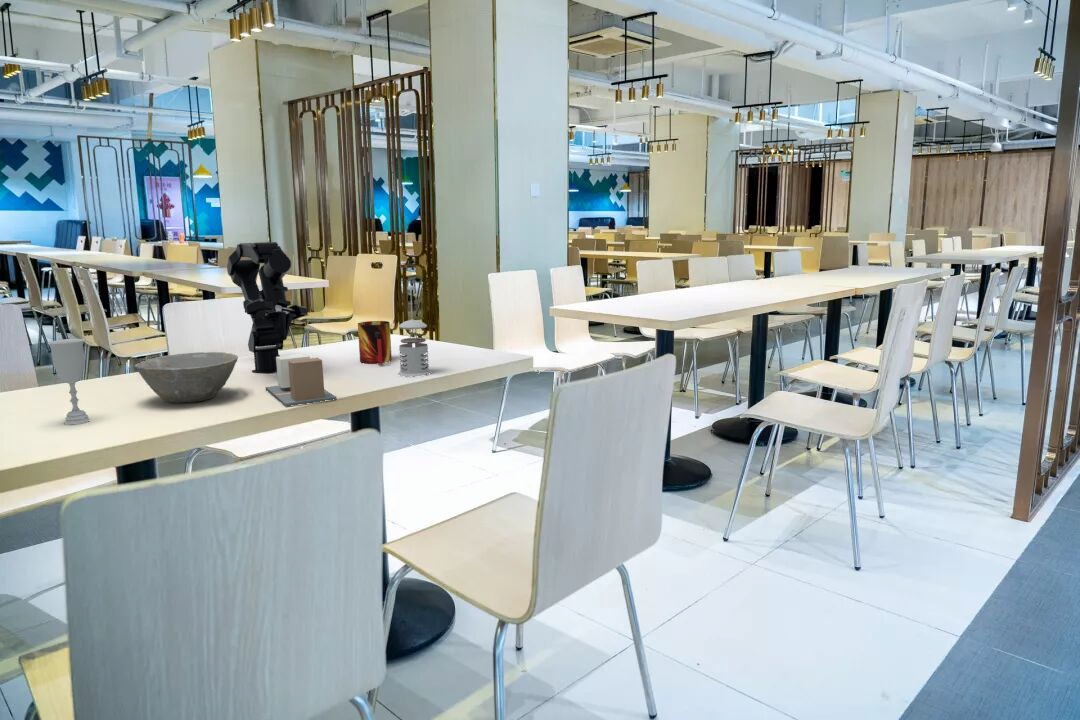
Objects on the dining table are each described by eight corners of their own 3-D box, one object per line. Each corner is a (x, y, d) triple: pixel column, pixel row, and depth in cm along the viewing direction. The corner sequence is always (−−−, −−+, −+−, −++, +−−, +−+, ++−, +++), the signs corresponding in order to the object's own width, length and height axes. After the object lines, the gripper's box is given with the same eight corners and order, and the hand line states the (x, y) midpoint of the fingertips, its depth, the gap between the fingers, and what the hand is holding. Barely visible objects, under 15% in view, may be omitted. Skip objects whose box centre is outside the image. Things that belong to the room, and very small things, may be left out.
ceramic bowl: (143, 395, 189) (138, 356, 188) (240, 386, 198) (236, 349, 196) (134, 415, 169) (129, 372, 168) (242, 404, 178) (239, 363, 176)
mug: (380, 367, 221) (377, 327, 219) (353, 361, 231) (351, 323, 228) (406, 362, 228) (404, 323, 226) (379, 357, 238) (377, 320, 235)
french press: (396, 377, 205) (391, 287, 201) (397, 369, 217) (393, 284, 212) (432, 376, 207) (428, 286, 202) (431, 368, 218) (428, 282, 213)
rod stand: (265, 390, 193) (262, 352, 191) (312, 384, 199) (309, 347, 197) (285, 407, 174) (282, 365, 172) (336, 400, 180) (333, 359, 179)
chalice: (70, 418, 168) (59, 339, 164) (101, 416, 168) (91, 338, 165) (51, 426, 160) (40, 344, 157) (84, 425, 161) (73, 343, 158)
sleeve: (278, 384, 190) (275, 356, 189) (306, 380, 194) (304, 353, 193) (282, 387, 186) (280, 359, 185) (311, 384, 190) (309, 356, 188)
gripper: (272, 299, 215) (282, 350, 213) (224, 290, 198) (236, 346, 196) (303, 287, 212) (314, 339, 210) (258, 277, 194) (269, 333, 192)
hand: (283, 339), depth 202 cm, fingers closed
